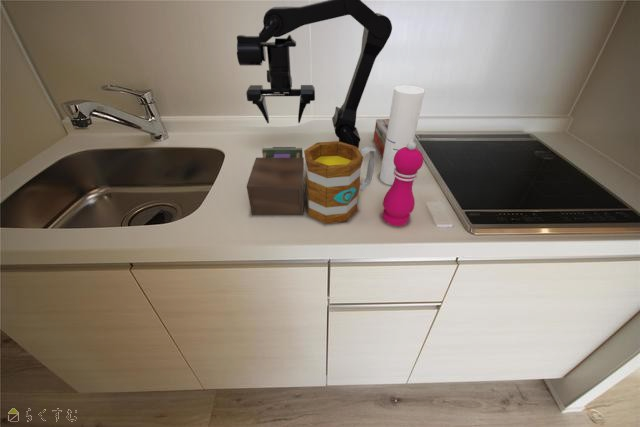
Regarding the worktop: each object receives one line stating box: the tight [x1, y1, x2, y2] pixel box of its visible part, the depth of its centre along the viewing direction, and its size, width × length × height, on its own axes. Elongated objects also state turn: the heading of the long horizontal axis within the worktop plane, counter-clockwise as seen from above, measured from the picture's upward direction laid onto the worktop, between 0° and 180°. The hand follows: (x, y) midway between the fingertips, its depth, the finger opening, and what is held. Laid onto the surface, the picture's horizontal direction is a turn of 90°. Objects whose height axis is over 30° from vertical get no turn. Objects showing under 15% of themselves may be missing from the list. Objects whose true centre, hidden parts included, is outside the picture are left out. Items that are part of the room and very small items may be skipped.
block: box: [274, 154, 291, 158], centre depth 82 cm, size 5×5×5 cm
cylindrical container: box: [379, 84, 426, 186], centre depth 76 cm, size 7×7×25 cm
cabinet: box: [246, 157, 305, 216], centre depth 73 cm, size 14×13×9 cm
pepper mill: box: [382, 141, 424, 227], centre depth 64 cm, size 7×7×20 cm
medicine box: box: [373, 118, 389, 157], centre depth 96 cm, size 15×8×8 cm, turn 6°
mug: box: [303, 140, 377, 225], centre depth 70 cm, size 20×14×15 cm
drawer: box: [261, 146, 304, 158], centre depth 81 cm, size 17×11×7 cm, turn 1°
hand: (283, 122), depth 86 cm, fingers open, 9 cm apart
